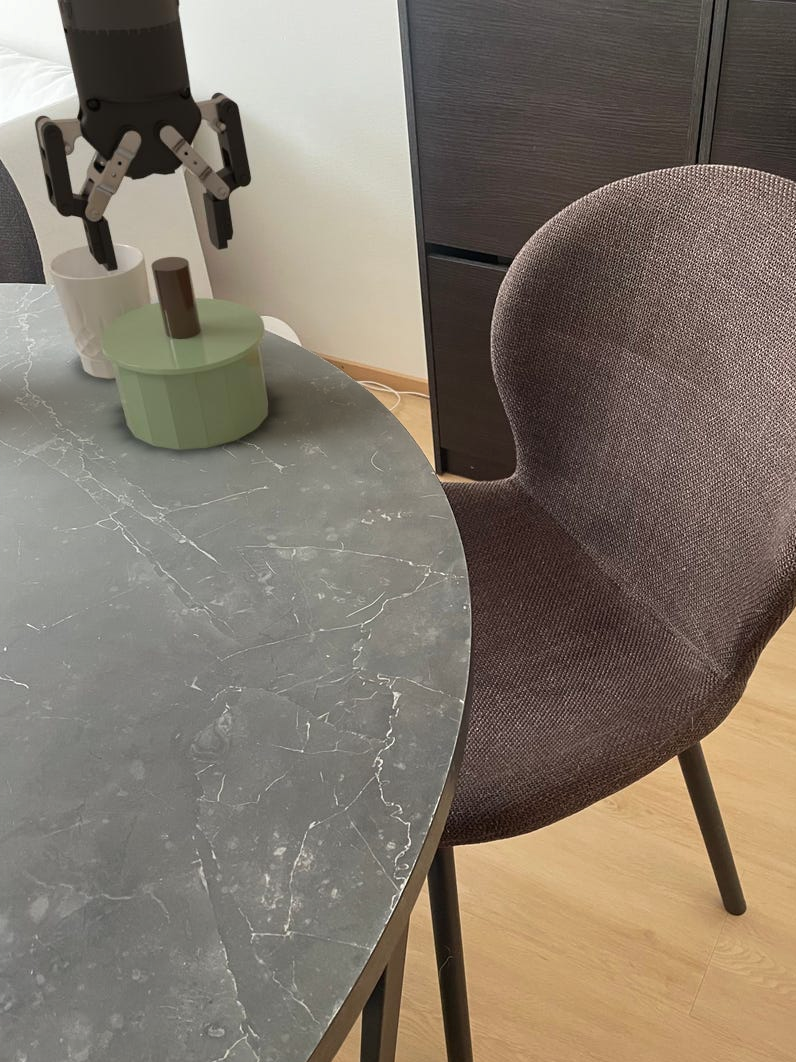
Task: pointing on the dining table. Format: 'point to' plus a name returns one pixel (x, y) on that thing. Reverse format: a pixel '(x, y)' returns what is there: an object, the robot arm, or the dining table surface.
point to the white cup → (98, 298)
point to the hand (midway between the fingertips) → (165, 256)
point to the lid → (181, 328)
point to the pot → (195, 404)
